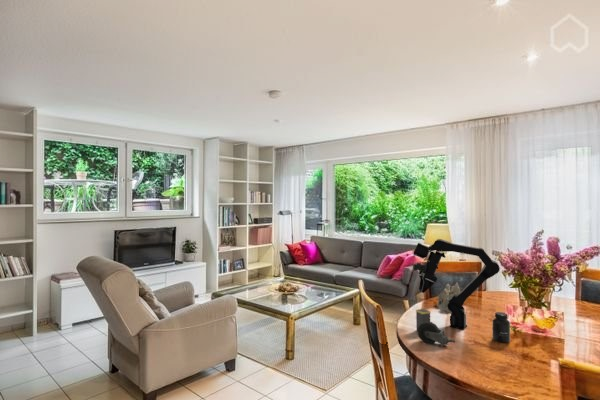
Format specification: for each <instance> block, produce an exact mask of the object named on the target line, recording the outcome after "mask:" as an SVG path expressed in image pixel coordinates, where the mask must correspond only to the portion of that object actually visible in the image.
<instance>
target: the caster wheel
mask: <svg viewBox="0 0 600 400" xmlns="http://www.w3.org/2000/svg"><path fill="white" fill-rule="evenodd" d="M417 335H418V337H419V339H420V340H421V341H422V342H423V343H425V344H429V345H431V344H435V343H438V344H439V345H440V348H441V347H442V348H444V346H448V344H449V343H453V344H454V343H456V340H455V339H450V338H448V336H447V335H446V334H445V330H444V329H439V327H438V326H437V324H436V323H434V322H432V321H430V322H429V321H427V322H423V323H421V324H420V326H419V328H418V331H417Z"/></svg>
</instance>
